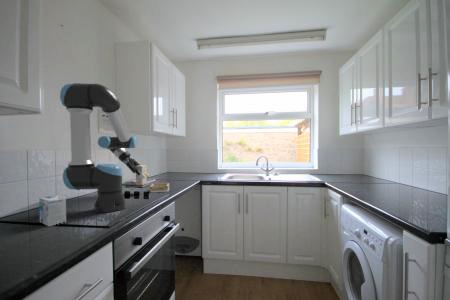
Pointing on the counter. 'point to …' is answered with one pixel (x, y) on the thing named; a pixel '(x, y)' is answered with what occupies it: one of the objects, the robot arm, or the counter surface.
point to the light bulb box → (52, 210)
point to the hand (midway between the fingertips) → (146, 177)
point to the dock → (159, 187)
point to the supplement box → (144, 171)
